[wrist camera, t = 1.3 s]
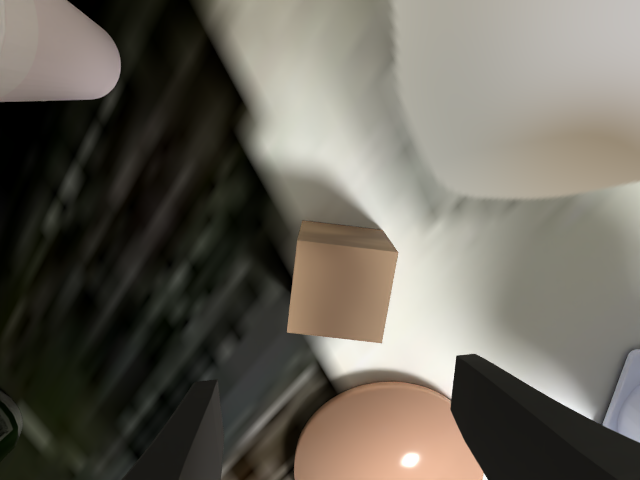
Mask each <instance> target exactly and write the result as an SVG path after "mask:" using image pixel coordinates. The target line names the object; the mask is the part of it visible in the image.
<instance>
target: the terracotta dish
mask: <svg viewBox="0 0 640 480" xmlns="http://www.w3.org/2000/svg"><path fill="white" fill-rule="evenodd" d="M450 407H451V400H449V399H448V398H446V397H445V396H443V395H441V394H440V393H438V392H436V391H433V390H431V389H429V388H426V387H423V386H419V385H416V384H411V383H405V382H376V383H371V384H365V385H361V386H358V387H355V388H352V389H349V390H347V391H345V392H342V393H340V394H339V395H337V396H335V397H334V398H332V399H330V400H329V401H328V402H326V403H325V404H324V405H322V406H321V407H320V408H319V409H318V410H317V411H316V412H315V413H314V414H313V415H312V416H311V418H310V419H309V420H308V422H307V423H306V425H305V427H304V428H303V430H302V432H301V434H300V437H299V439H298V442H297V447H296V452H295V462H294V477H295V480H482V478H483V474H484V472H483V471H482V469H481V467H480V466H479V464H478V462H477V461H476V459H475V458H474V456H473V454H472V453H471V451H470V449H469V448H468V446H467V444H466V443H465V441H464V439H463V437H462V434H461V432H460V430H459V428H458V426H457V424H456V422H455V419H454V417H453V415H452V413H451V410H450Z"/></svg>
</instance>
